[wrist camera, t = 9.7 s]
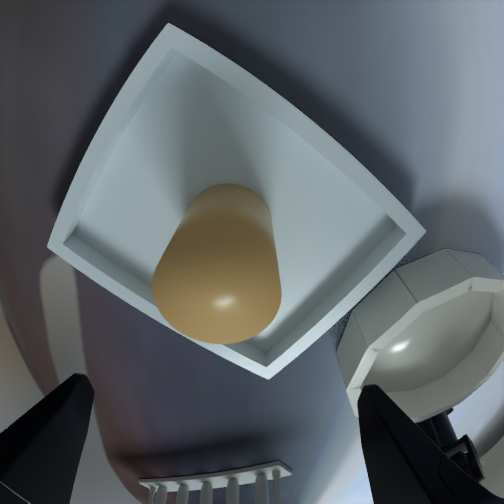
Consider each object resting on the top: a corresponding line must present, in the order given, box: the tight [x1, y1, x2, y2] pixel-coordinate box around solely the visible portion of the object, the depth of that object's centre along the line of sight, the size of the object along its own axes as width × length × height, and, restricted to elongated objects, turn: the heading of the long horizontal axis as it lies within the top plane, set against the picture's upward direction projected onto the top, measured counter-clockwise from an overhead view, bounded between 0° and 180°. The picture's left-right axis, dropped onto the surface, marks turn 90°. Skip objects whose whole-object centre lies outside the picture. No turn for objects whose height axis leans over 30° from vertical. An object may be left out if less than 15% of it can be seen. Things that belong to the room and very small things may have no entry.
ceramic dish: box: [336, 248, 504, 423], centre depth 22 cm, size 16×16×4 cm
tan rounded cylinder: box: [152, 184, 282, 344], centre depth 15 cm, size 5×5×7 cm
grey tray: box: [47, 23, 427, 380], centre depth 18 cm, size 18×15×2 cm
